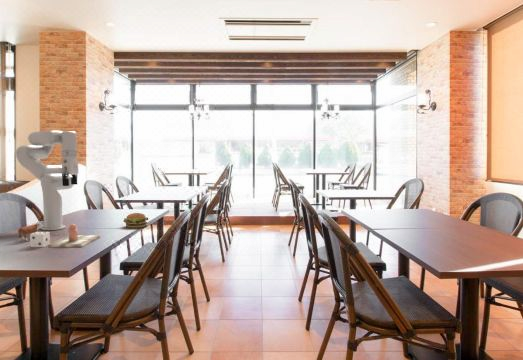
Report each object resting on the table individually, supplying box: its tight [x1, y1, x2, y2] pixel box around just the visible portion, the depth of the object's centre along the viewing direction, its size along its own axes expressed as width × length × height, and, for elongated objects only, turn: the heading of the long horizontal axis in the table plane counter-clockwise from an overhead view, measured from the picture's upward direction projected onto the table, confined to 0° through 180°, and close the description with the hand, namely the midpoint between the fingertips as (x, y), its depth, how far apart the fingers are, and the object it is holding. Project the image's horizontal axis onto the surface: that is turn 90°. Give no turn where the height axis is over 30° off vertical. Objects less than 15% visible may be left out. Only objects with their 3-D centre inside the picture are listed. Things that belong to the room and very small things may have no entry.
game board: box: [47, 234, 101, 248], centre depth 198 cm, size 16×21×1 cm
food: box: [122, 212, 149, 229], centre depth 240 cm, size 14×14×8 cm
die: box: [29, 231, 51, 248], centre depth 190 cm, size 6×6×6 cm
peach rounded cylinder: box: [67, 223, 79, 242], centre depth 196 cm, size 4×4×8 cm
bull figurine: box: [17, 221, 43, 242], centre depth 203 cm, size 4×13×8 cm, turn 161°
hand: (70, 185), depth 220 cm, fingers open, 9 cm apart
